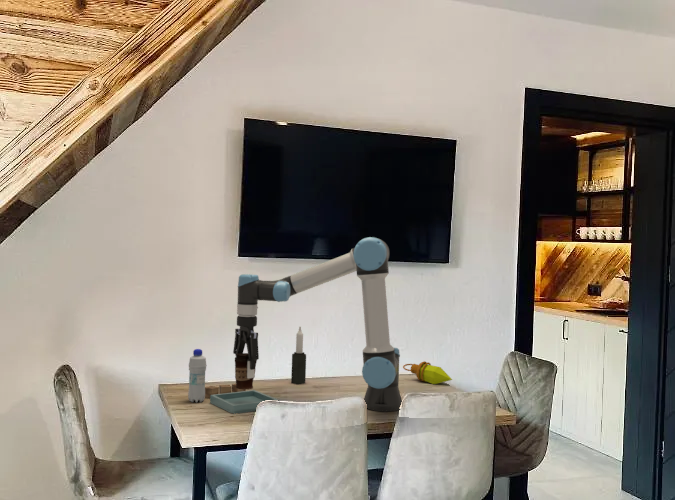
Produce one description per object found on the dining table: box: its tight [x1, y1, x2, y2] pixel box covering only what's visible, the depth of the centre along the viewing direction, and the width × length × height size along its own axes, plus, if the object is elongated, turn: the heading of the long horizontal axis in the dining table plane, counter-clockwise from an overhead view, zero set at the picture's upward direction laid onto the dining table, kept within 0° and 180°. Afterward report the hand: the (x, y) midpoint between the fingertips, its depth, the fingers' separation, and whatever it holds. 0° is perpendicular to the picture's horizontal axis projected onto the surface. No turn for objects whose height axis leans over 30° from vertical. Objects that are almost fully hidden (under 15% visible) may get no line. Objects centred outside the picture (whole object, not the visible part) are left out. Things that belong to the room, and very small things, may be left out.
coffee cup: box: [234, 352, 258, 391], centre depth 253 cm, size 9×8×13 cm
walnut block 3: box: [231, 383, 247, 393], centre depth 272 cm, size 4×4×4 cm
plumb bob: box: [402, 360, 453, 385], centre depth 308 cm, size 9×9×25 cm
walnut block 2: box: [218, 384, 232, 394], centre depth 268 cm, size 4×4×4 cm
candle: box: [290, 326, 307, 385], centre depth 297 cm, size 5×5×25 cm
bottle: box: [187, 348, 207, 404], centre depth 257 cm, size 7×7×20 cm
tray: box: [209, 389, 280, 415], centre depth 253 cm, size 19×19×3 cm
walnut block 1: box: [205, 385, 219, 399], centre depth 265 cm, size 4×4×4 cm
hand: (244, 375), depth 253 cm, fingers closed on coffee cup, 8 cm apart
